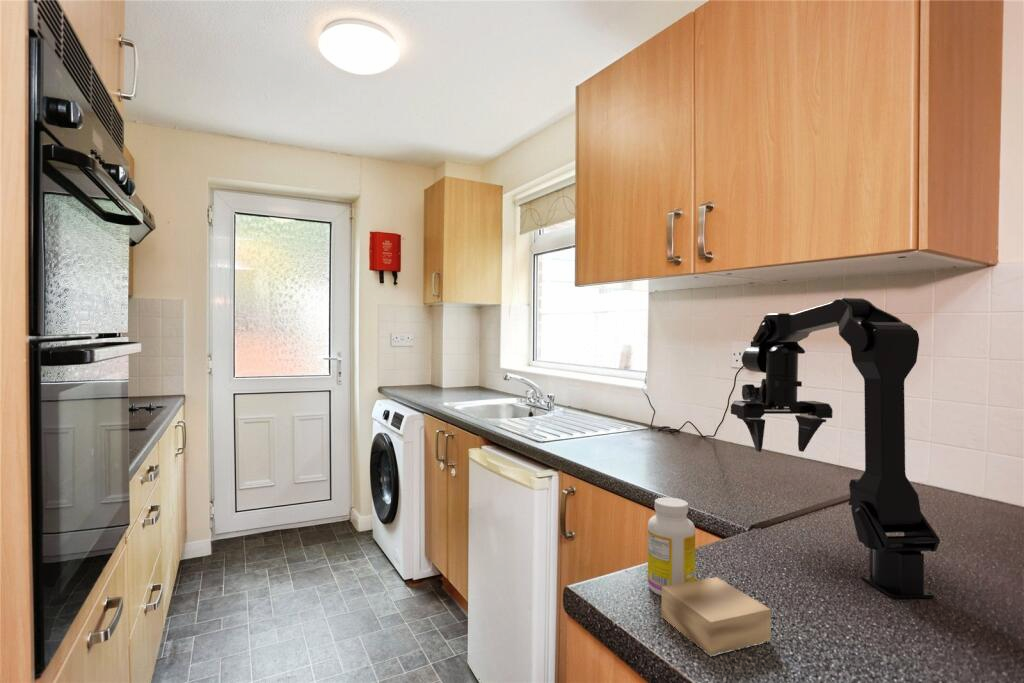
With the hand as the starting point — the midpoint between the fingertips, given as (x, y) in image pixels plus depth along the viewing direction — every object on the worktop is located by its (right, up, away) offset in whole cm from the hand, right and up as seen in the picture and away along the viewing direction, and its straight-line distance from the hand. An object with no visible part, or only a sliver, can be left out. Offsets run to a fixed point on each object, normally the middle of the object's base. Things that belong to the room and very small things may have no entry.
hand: (779, 451), depth 104 cm
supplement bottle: (-32, -14, -30) cm, 46 cm away
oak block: (-29, -14, -40) cm, 52 cm away
